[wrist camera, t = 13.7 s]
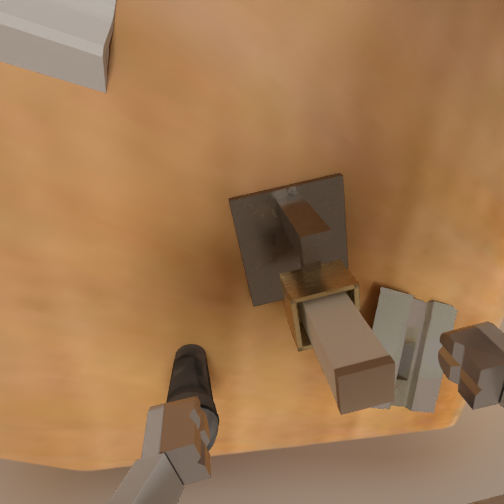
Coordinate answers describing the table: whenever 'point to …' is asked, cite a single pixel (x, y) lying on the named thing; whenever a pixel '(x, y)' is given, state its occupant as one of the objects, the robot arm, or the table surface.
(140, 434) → the table surface
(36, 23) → the crown molding
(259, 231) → the bracket
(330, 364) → the rail end
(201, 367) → the dark travel mug
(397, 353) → the grey grooved block
